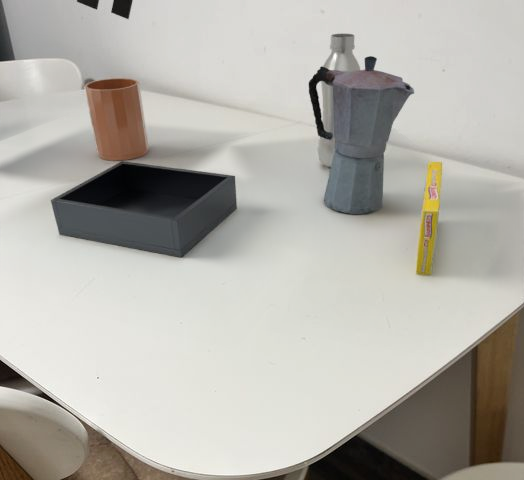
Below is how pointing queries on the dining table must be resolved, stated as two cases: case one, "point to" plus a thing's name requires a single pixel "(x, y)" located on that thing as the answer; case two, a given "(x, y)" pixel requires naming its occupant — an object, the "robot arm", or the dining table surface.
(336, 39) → the silver bottle
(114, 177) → the tray
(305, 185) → the dining table surface
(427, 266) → the candy box
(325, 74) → the moka pot
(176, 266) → the dining table surface
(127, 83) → the pot
